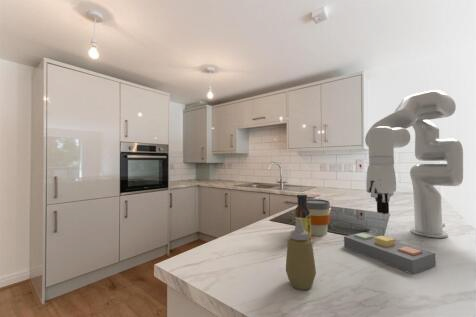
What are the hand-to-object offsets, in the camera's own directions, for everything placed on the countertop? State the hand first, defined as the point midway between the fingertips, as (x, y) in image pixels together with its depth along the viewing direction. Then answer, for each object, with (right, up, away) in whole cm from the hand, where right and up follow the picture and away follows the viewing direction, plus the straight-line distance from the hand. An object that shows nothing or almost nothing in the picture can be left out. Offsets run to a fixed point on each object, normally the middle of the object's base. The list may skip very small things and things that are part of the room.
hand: (382, 212), depth 78 cm
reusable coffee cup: (-14, -16, +26) cm, 34 cm away
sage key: (-3, -13, +7) cm, 15 cm away
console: (0, -15, 0) cm, 15 cm away
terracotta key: (+4, -12, -8) cm, 15 cm away
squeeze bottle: (-34, -15, -18) cm, 42 cm away
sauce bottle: (-24, -16, +15) cm, 32 cm away
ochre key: (0, -11, 0) cm, 11 cm away
